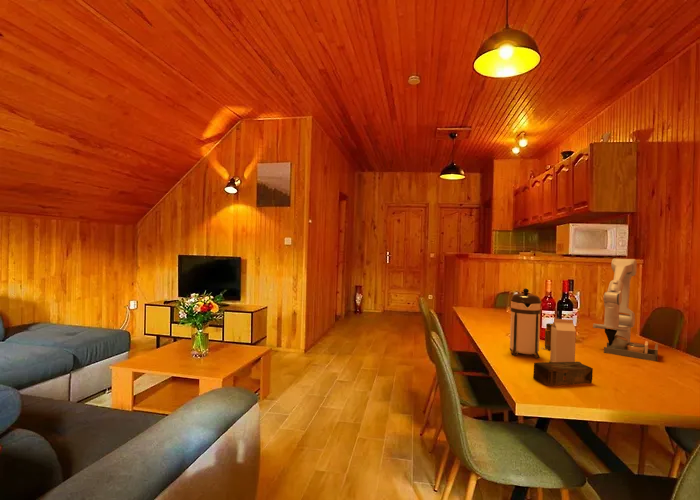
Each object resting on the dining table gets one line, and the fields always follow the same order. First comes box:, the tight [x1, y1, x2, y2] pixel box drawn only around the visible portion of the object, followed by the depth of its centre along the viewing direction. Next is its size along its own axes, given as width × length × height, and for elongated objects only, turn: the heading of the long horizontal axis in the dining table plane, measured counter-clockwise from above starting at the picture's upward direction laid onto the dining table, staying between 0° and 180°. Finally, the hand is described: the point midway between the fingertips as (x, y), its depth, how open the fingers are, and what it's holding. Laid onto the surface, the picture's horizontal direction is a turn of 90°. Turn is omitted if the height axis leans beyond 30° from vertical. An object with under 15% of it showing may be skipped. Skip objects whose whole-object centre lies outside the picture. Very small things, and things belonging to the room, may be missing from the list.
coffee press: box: [509, 288, 542, 359], centre depth 172 cm, size 17×16×30 cm
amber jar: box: [626, 341, 645, 353], centre depth 174 cm, size 7×7×5 cm
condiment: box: [541, 322, 553, 351], centre depth 180 cm, size 7×8×12 cm
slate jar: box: [609, 335, 628, 350], centre depth 178 cm, size 6×6×7 cm
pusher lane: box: [603, 341, 659, 362], centre depth 175 cm, size 13×20×5 cm, turn 50°
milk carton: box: [549, 318, 577, 362], centre depth 156 cm, size 7×7×19 cm
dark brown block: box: [532, 361, 594, 387], centre depth 137 cm, size 8×19×7 cm, turn 101°
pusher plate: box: [644, 340, 649, 354], centre depth 172 cm, size 10×1×6 cm, turn 140°
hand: (610, 345), depth 180 cm, fingers closed, pressing on slate jar
